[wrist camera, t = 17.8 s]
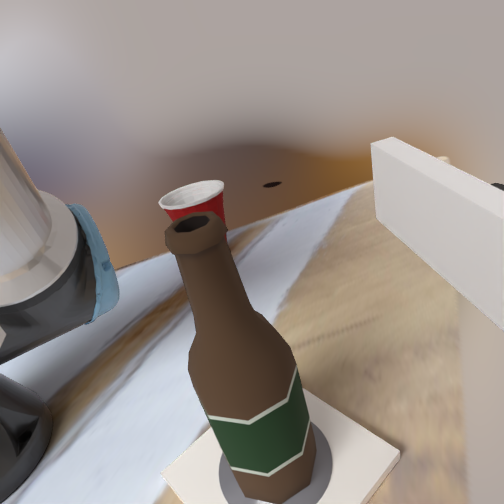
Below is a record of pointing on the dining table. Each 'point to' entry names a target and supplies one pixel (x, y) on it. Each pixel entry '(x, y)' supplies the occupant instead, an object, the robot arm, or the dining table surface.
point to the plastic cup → (195, 200)
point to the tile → (324, 471)
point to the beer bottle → (242, 368)
